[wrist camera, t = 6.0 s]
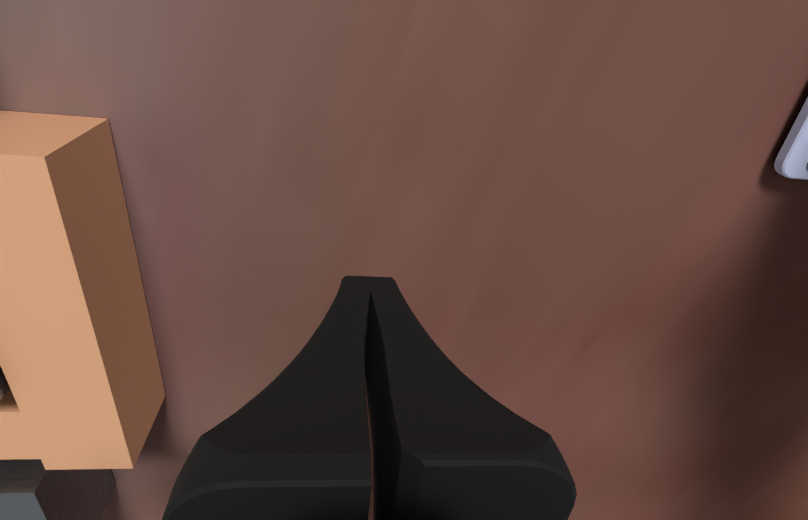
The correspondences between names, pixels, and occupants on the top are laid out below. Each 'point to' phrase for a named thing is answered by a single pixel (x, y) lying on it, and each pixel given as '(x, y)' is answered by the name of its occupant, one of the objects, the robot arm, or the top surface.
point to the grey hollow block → (50, 488)
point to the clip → (71, 300)
